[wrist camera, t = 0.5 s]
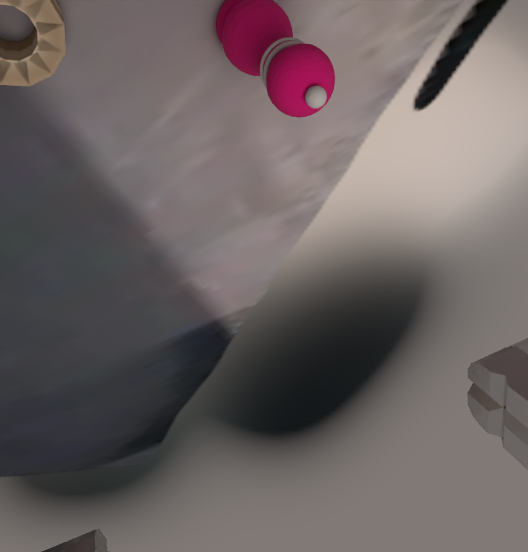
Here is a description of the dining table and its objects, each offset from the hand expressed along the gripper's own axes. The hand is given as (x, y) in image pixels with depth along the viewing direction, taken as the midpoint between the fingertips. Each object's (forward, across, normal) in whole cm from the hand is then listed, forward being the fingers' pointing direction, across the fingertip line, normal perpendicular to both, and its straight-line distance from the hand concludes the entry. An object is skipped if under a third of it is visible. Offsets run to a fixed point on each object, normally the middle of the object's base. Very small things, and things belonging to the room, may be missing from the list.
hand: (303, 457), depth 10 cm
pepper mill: (+51, -17, -6) cm, 54 cm away
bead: (+50, +6, -11) cm, 51 cm away
